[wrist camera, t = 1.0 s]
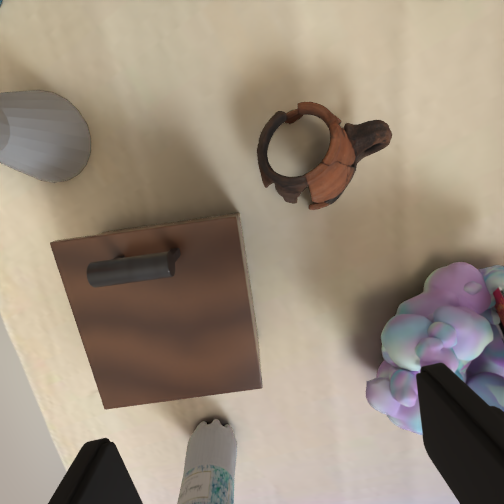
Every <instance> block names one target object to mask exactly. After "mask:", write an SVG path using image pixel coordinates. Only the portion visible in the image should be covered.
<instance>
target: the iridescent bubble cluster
mask: <svg viewBox="0 0 504 504" xmlns="http://www.w3.org/2000/svg"><path fill="white" fill-rule="evenodd" d="M381 341H382V345H383V346H382V356H383V358H384V361H383V362H382V363H381V365H380V367H379V369H378V371H377V378H375V379H373V380H370V381H367V387H366V398H367V400H368V402H369V404H370V405H371V406H372V407H373V408H374V409H376V410H377V411H379V412H381V413H383V414H386V415H387V416H388V418H389V419H390V420H391V421H392V422H393V423H394V424H395V425H397V426H398V427H400V428H402V429H405V430H409V431H412V432H414V433H417V434H420V435H423V433H422V424H421V416H420V407H419V399H418V390H417V382H416V374H417V373H420V369H421V367H423V366H427V365H431V364H436V363H440V362H441V363H444V364H445V365H446V366H447V367H449V368H450V369H451V370H452V371H453V372H454V373H455V374H456V375H457V376H458V377H459V378H460V379H461V380H462V381H463V382H465V383H466V384H467V385H468V386H469V387H470V388H471V389H472V390H473V391H474V392H475V393H476V394H477V395H478V396H480V397H481V398H482V399H483V400H484V401H485V402H486V403H487V404H488V405H489V406H495V407H498V408H500V409H501V410H502V411H504V266H500V265H494V266H491V267H486V268H480V269H476V268H475V267H474V266H472V265H470V264H468V263H466V262H455V263H452V264H450V265H448V266H444V267H441V268H438V269H436V270H435V271H433V272H432V273H431V274H430V275H429V276H428V278H427V279H426V281H425V284H424V291H423V292H422V293H421V294H419V295H417V296H415V297H413V298H410V299H408V300H406V301H404V302H403V303H401V304H400V305H399V307H398V309H397V313H396V315H395V316H394V317H392V318H391V319H390V320H389V321H388V322H387V323H386V325H385V327H384V329H383V331H382V334H381Z"/></svg>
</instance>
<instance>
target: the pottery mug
mask: <svg viewBox="0 0 504 504" xmlns="http://www.w3.org/2000/svg"><path fill="white" fill-rule="evenodd" d="M303 115H314V116H317V117H319V118H321V119H322V120H323V121H324V122H325V123H326V125H327V126H328V128H329V130H330V145H329V149H328V151H327V154H326V156H325V157H324V159H323V160H322V162H321V163H320V164H319V165H318V166H317V167H316V168H314V169H313V170H311V171H310V172H308V173H306V174H305V175H303V176H298V177H286V176H282V175H280V174H278V173H276V172H275V171H274V170H273V169H272V168H271V166H270V164H269V162H268V157H267V150H268V145H269V142H270V139H271V137H272V135H273V134H274V132H275V131H276V129H277V128H278V127H279V126H280V125H281V124H283V123H284V122H285V123H289V124H291V123H294V122H295V121H297V120H298V119H300V118H301V117H302V116H303ZM340 123H341V120H340V119H339V118H338V117H336V116H335V115H333V114H332V113H331V112H330V111H329V110H328V109H327V108H325V107H324V106H322V105H320V104H317V103H313V102H301V103H298V109H295V110H292V111H290V112H288V113H285V112H282V111H278V112H277V113H276V114H275V115H274V116H272V118H271V119H270V120H269V122H268V123H267V124H266V125H265V127H264V128H263V130H262V132H261V135H260V138H259V144H258V148H257V156H258V164H259V169H260V173H261V177H262V181H263V184H264V186H265V188H267V187H268V186H269V185H270V184H272V183H275V187H276V190H277V192H278V193H279V194H280V195H281V196H282V197H283V198H284V200H285V201H286V202H289V203H294V204H295V203H297V197H299V196H300V194H301V192H302V191H303V190H304V189H305V188H306V187H307V186H309V190H310V193H311V199H312V202H315V203H316V204H310V205H309V209H310V210H315V209H320V208H323V207H326V206H328V205H329V204H332V203H334V202H335V201H336V200H337V199H338V198H339V197H340V195H341V194H342V192H343V191H344V189H345V188H346V187H347V185H348V184H349V182H350V181H351V179H352V177H353V175H354V173H355V171H356V165H357V163H358V162H359V161H360V160H361V159H363V158H364V157H366V156H368V155H370V154H373V153H375V152H378V151H380V150H381V149H383V148H385V147H386V146H388V145H389V143H390V140H391V138H392V133H391V130H390V129H389V125H388V124H387V123H385V122H384V121H382V120H373V121H367V122H364V123H362V124H358V125H353V124H350V123H346V124H345V126H344V129H343V128H341V127H340V126H339V124H340ZM323 201H324V202H323Z"/></svg>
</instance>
